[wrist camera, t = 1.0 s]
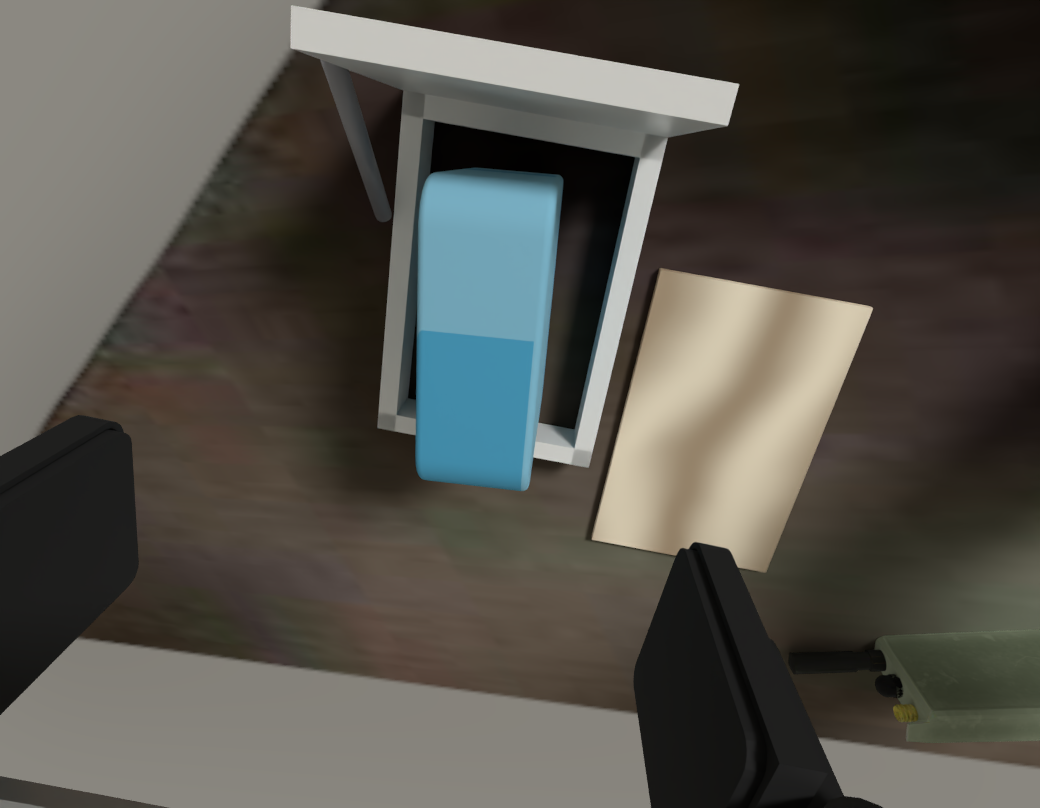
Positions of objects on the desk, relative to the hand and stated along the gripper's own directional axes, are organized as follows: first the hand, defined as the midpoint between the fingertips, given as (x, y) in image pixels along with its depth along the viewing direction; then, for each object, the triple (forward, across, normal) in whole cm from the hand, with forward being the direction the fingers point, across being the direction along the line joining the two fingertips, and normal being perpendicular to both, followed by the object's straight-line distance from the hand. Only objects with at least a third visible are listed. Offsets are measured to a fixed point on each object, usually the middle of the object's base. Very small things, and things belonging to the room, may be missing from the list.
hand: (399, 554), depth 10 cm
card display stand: (+24, 0, 0) cm, 24 cm away
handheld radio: (+24, -35, +16) cm, 45 cm away
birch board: (+24, -14, +6) cm, 28 cm away
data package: (+24, 0, 0) cm, 24 cm away
